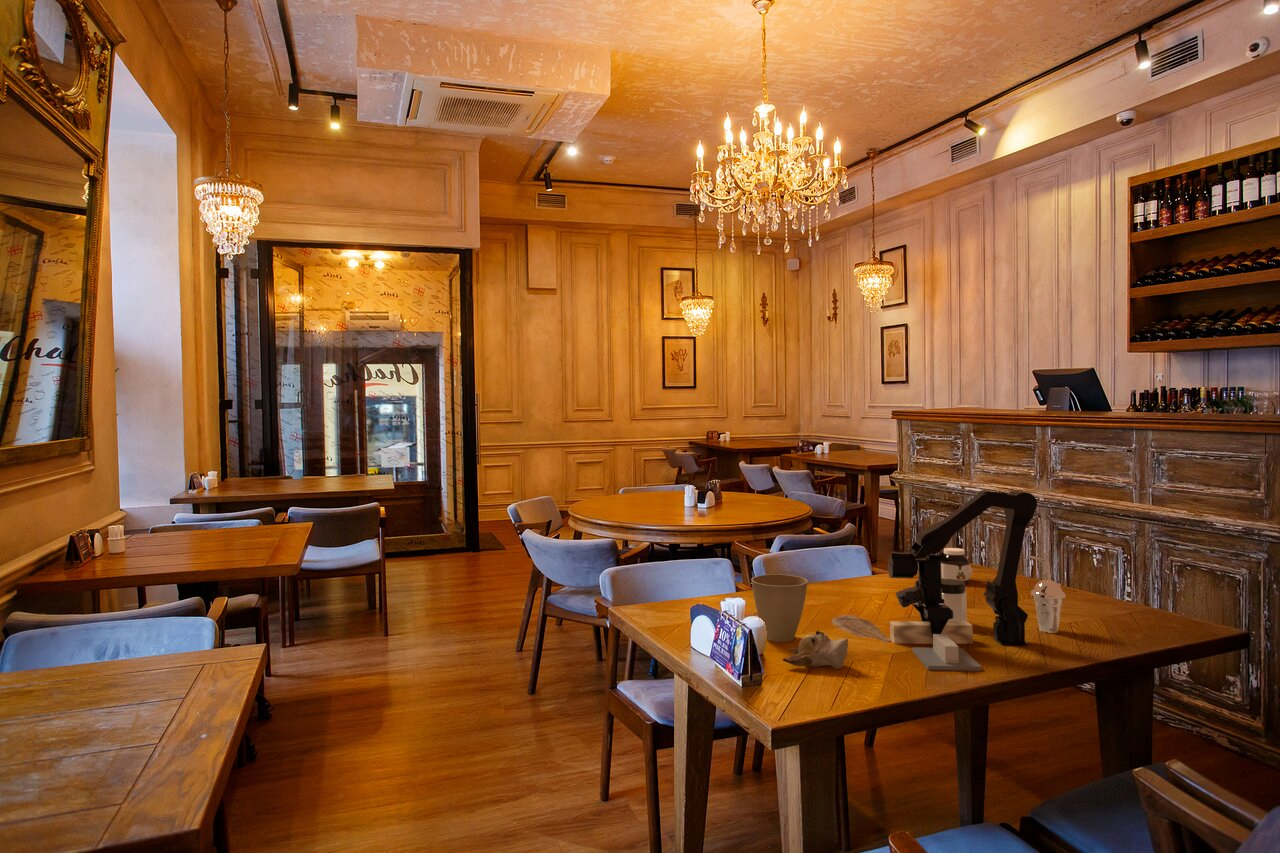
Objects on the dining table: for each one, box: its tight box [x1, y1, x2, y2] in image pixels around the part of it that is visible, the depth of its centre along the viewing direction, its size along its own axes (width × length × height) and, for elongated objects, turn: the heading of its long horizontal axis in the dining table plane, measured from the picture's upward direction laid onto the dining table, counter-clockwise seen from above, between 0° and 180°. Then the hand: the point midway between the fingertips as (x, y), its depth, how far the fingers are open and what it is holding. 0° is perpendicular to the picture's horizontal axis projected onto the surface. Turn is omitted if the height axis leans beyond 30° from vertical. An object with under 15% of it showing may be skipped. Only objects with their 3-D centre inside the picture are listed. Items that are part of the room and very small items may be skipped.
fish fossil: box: [831, 614, 892, 643], centre depth 210 cm, size 26×10×1 cm, turn 16°
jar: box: [942, 579, 968, 622], centre depth 214 cm, size 9×8×12 cm
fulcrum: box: [911, 634, 982, 672], centre depth 183 cm, size 12×14×5 cm
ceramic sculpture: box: [782, 630, 849, 670], centre depth 181 cm, size 11×9×15 cm
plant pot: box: [750, 573, 809, 643], centre depth 203 cm, size 15×15×16 cm
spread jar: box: [941, 547, 973, 584], centre depth 268 cm, size 12×11×12 cm
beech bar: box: [889, 620, 974, 645], centre depth 198 cm, size 20×4×5 cm, turn 86°
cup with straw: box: [1028, 554, 1067, 634], centre depth 206 cm, size 8×9×20 cm
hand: (930, 637), depth 198 cm, fingers open, 7 cm apart
